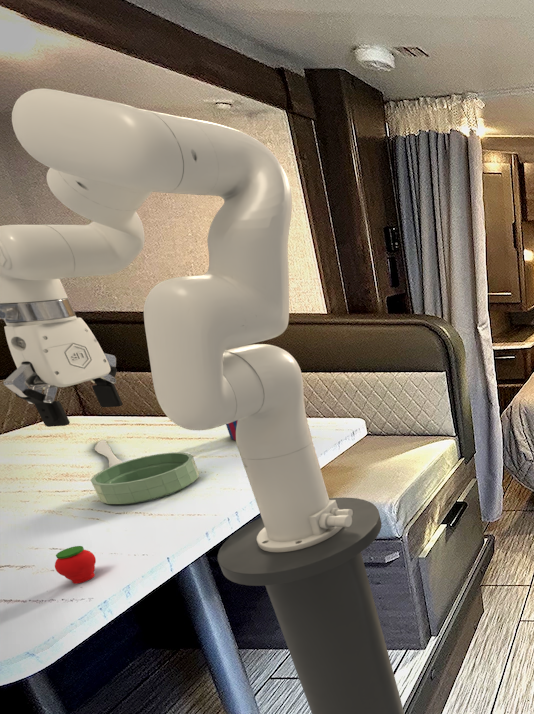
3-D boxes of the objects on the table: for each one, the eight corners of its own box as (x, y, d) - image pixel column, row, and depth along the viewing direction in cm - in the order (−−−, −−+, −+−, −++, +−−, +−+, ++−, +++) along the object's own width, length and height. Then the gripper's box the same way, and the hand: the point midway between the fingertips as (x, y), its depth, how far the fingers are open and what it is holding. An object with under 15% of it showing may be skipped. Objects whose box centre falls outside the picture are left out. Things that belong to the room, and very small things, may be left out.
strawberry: (110, 570, 73) (96, 543, 71) (82, 587, 69) (67, 559, 67) (85, 570, 73) (71, 543, 71) (56, 587, 69) (40, 559, 68)
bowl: (218, 472, 103) (210, 452, 101) (153, 507, 90) (143, 485, 88) (152, 472, 104) (144, 452, 102) (78, 507, 91) (67, 484, 89)
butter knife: (105, 471, 103) (125, 466, 105) (91, 442, 119) (108, 438, 121) (107, 474, 103) (126, 468, 105) (92, 445, 119) (109, 440, 121)
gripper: (4, 320, 71) (60, 432, 77) (113, 305, 87) (152, 398, 93) (-54, 323, 70) (7, 435, 76) (67, 307, 86) (109, 401, 92)
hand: (86, 415), depth 85 cm, fingers open, 9 cm apart
